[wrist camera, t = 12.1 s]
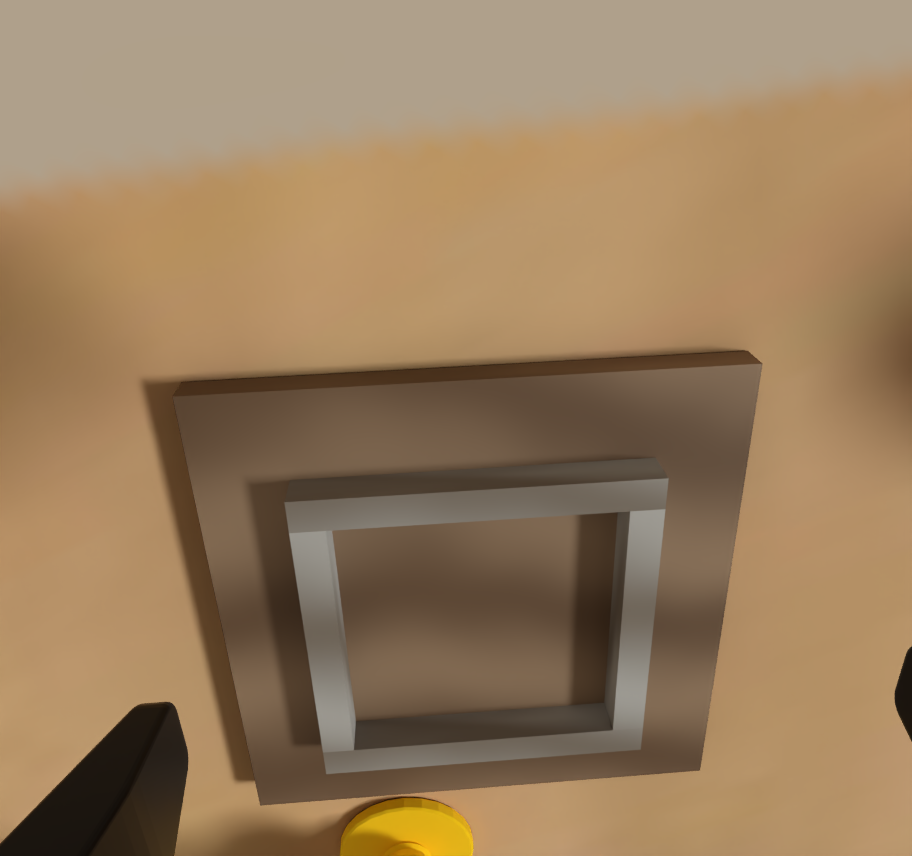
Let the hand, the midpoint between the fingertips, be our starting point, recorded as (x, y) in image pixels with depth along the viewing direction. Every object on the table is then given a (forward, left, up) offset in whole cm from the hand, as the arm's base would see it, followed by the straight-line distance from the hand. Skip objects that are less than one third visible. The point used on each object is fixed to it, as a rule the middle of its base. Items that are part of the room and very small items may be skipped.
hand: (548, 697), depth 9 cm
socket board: (-9, 0, -13) cm, 16 cm away
